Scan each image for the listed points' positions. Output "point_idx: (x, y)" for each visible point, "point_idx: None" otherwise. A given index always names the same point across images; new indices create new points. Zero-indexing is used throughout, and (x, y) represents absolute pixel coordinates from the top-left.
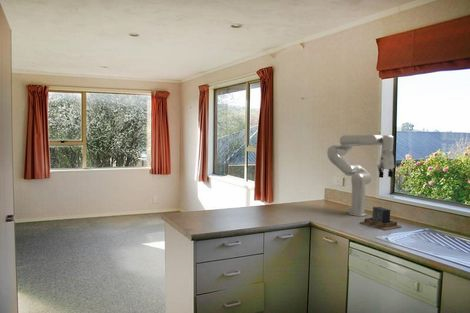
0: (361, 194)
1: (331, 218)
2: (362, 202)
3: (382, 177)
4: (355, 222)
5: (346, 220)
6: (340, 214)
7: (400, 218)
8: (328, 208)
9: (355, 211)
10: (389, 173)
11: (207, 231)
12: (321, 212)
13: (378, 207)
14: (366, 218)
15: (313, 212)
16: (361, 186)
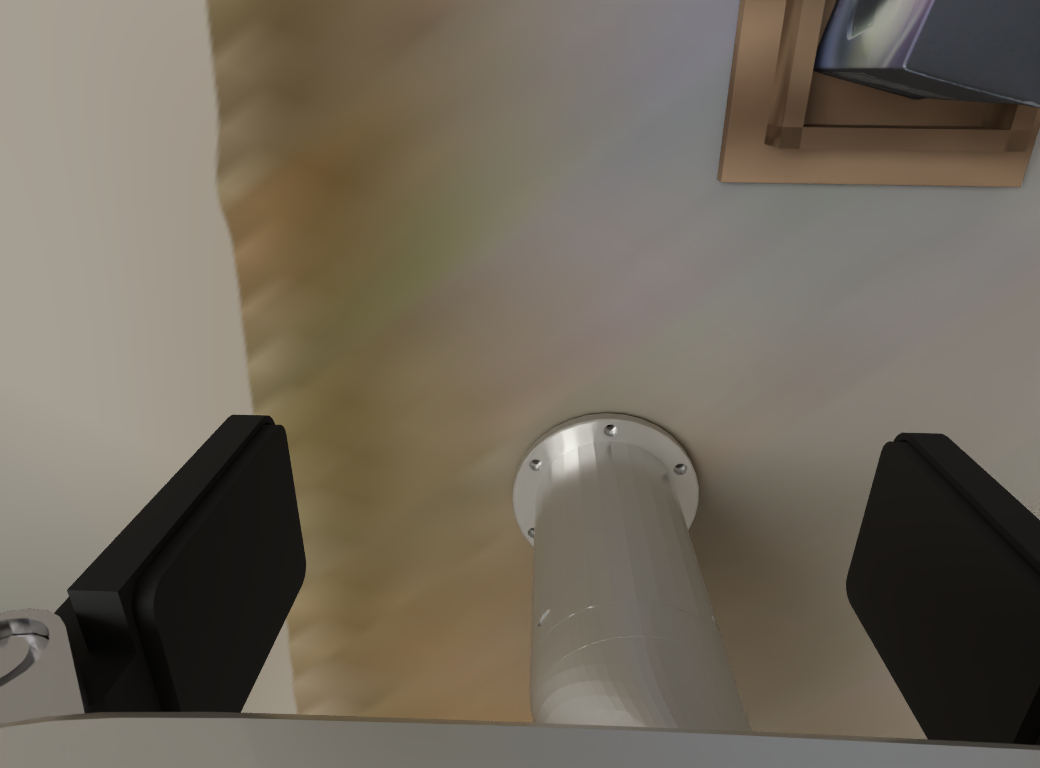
0: (676, 611)
1: (1030, 481)
2: (635, 524)
3: (936, 439)
4: (1004, 242)
5: (989, 354)
6: (766, 559)
7: (284, 143)
8: None
9: (677, 496)
10: (240, 630)
11: None
12: (851, 676)
13: (1022, 19)
14: (999, 144)
15: None
16: (718, 728)
